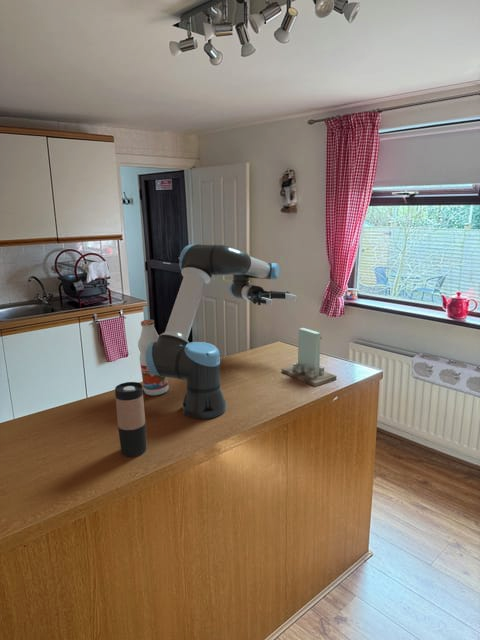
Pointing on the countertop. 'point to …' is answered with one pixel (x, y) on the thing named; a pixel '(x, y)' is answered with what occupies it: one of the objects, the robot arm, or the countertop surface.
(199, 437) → the countertop surface
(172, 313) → the robot arm
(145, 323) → the fruit juice
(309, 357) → the door
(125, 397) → the travel mug
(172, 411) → the countertop surface
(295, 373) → the hinge base
